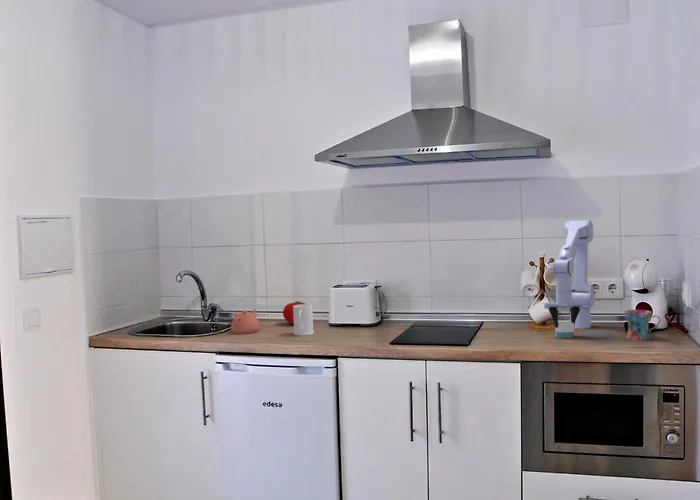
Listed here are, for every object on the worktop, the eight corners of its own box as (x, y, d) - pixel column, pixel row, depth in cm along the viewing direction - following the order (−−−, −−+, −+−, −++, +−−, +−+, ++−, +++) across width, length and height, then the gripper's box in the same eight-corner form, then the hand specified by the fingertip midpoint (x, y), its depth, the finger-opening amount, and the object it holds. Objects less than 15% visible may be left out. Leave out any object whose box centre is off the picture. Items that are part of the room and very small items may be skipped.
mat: (577, 334, 255) (577, 331, 255) (608, 333, 254) (608, 331, 254) (586, 340, 243) (586, 337, 243) (619, 339, 242) (619, 336, 242)
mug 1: (308, 337, 269) (306, 308, 269) (288, 337, 271) (287, 308, 271) (316, 332, 281) (315, 304, 280) (297, 331, 283) (296, 304, 282)
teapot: (223, 335, 282) (222, 313, 281) (244, 327, 299) (243, 307, 298) (248, 335, 278) (247, 313, 277) (268, 328, 294) (267, 307, 294)
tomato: (309, 325, 298) (308, 302, 297) (282, 326, 297) (281, 303, 297) (310, 321, 311) (309, 299, 310) (284, 322, 311) (283, 299, 310)
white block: (555, 330, 250) (555, 321, 249) (569, 329, 249) (569, 320, 249) (559, 332, 244) (559, 323, 244) (574, 332, 244) (574, 323, 244)
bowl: (554, 337, 250) (553, 329, 250) (570, 337, 250) (570, 329, 250) (558, 340, 244) (558, 332, 244) (575, 340, 244) (575, 332, 244)
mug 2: (624, 342, 237) (623, 313, 237) (624, 337, 246) (624, 309, 245) (660, 343, 232) (660, 314, 232) (660, 339, 241) (660, 310, 240)
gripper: (546, 292, 243) (547, 329, 243) (586, 291, 242) (587, 328, 243) (542, 290, 250) (542, 326, 250) (580, 289, 249) (581, 325, 250)
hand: (564, 327), depth 247 cm, fingers closed on white block, 5 cm apart
